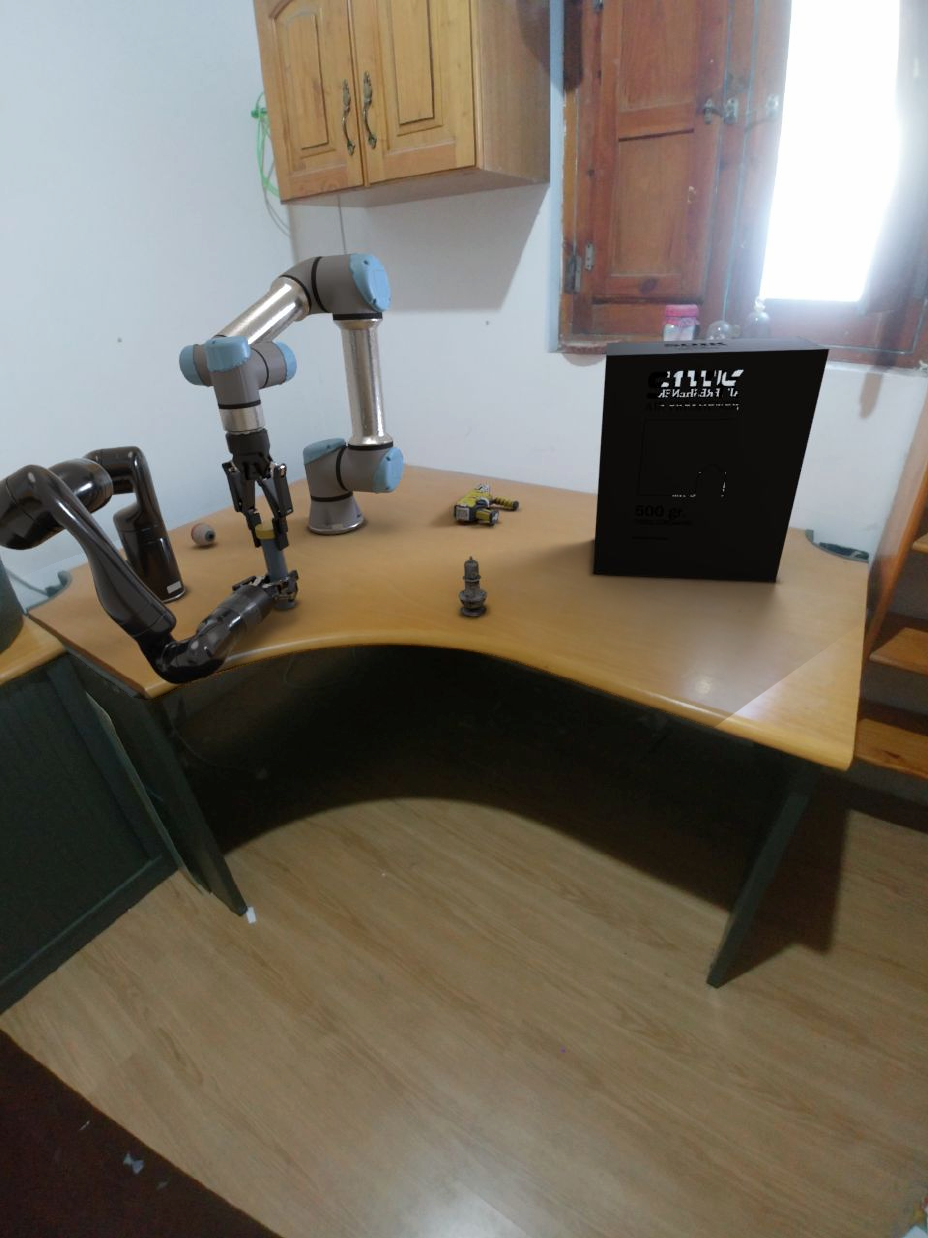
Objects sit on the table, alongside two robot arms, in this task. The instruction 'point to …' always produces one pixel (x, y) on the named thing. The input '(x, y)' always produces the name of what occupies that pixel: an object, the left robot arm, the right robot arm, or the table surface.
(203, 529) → the eyeball
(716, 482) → the cardboard box
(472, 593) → the grey chess piece
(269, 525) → the lid
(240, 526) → the table surface
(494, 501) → the toy gun
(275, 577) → the bottle
